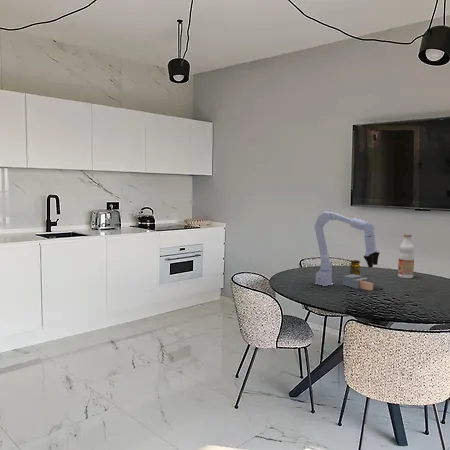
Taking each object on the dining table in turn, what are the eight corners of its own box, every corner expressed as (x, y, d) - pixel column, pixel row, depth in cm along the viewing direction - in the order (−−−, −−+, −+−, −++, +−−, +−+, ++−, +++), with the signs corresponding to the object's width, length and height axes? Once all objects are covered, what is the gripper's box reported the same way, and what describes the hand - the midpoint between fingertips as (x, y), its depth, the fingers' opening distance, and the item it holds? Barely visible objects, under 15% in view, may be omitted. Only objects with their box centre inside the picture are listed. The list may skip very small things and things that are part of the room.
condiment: (362, 280, 282) (362, 261, 281) (349, 280, 281) (350, 261, 279) (357, 277, 289) (357, 259, 288) (344, 278, 288) (345, 259, 287)
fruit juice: (408, 279, 286) (410, 236, 283) (394, 276, 293) (397, 234, 290) (415, 277, 292) (418, 234, 289) (402, 275, 299) (404, 233, 296)
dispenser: (343, 285, 267) (343, 275, 266) (352, 283, 272) (353, 274, 272) (357, 288, 259) (357, 279, 258) (366, 286, 264) (367, 277, 263)
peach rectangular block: (356, 287, 263) (356, 280, 262) (359, 286, 265) (360, 280, 264) (369, 290, 255) (369, 283, 255) (372, 290, 257) (373, 282, 257)
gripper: (372, 244, 252) (375, 268, 253) (381, 240, 263) (384, 263, 264) (360, 245, 256) (363, 268, 257) (369, 241, 268) (372, 263, 268)
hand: (373, 266), depth 261 cm, fingers open, 7 cm apart
